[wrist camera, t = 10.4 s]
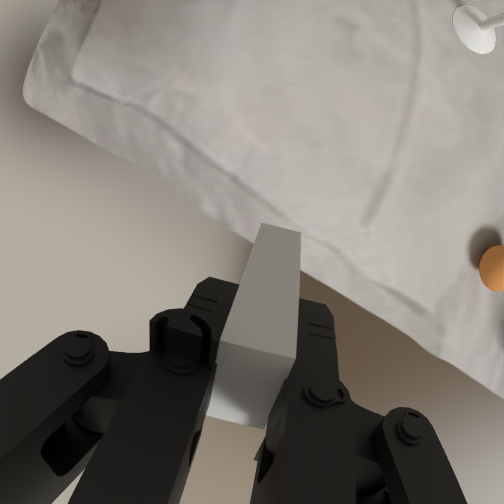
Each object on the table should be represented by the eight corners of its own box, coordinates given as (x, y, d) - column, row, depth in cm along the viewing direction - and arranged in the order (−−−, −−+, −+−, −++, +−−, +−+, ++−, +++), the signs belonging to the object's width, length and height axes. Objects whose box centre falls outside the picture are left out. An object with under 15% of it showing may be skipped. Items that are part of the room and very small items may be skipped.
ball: (523, 252, 31) (488, 236, 35) (525, 259, 27) (486, 241, 31) (508, 291, 33) (475, 275, 37) (507, 303, 29) (470, 285, 33)
